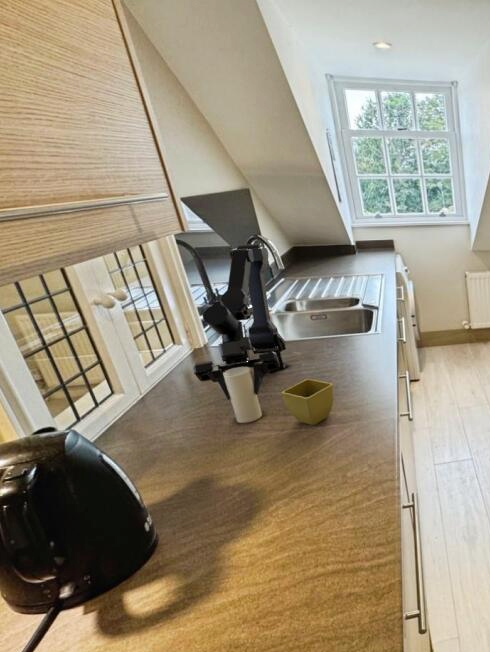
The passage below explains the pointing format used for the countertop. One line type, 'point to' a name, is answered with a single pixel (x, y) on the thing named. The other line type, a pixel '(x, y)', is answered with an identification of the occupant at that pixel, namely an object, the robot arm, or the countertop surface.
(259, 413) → the tall white cylinder
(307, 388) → the flower pot
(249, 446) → the countertop surface
